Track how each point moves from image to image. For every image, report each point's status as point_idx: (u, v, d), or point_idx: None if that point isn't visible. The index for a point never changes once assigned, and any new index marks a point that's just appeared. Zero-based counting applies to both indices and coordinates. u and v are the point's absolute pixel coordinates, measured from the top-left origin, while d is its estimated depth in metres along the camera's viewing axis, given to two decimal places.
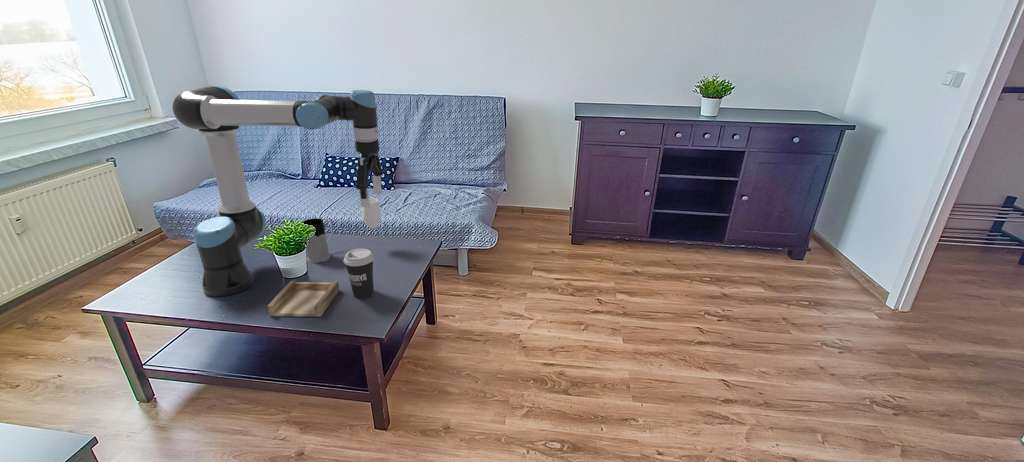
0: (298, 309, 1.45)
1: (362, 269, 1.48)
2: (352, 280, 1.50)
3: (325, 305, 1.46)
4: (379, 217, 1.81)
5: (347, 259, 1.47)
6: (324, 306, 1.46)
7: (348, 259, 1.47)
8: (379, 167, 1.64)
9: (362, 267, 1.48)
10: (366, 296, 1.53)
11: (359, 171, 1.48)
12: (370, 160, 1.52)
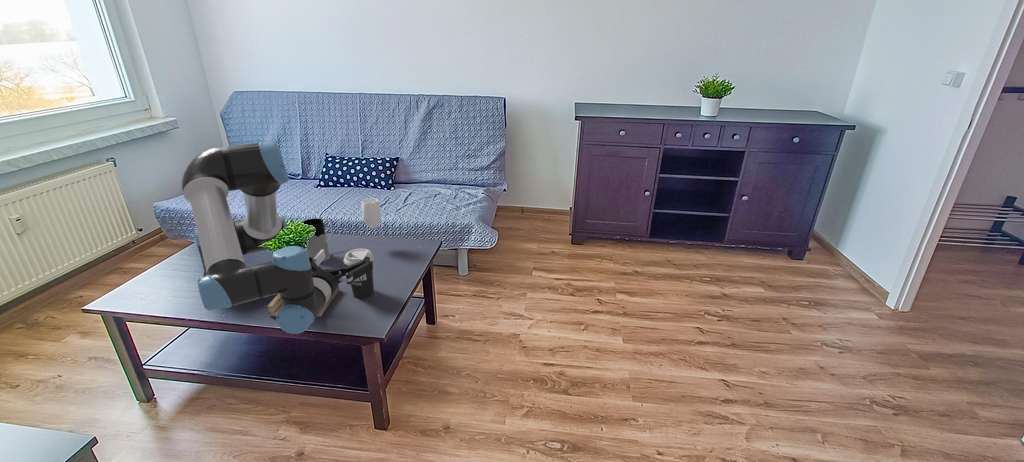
0: None
1: None
2: None
3: (325, 305, 1.46)
4: (379, 217, 1.81)
5: (347, 259, 1.47)
6: (324, 306, 1.46)
7: (348, 259, 1.47)
8: None
9: None
10: (366, 296, 1.53)
11: None
12: None
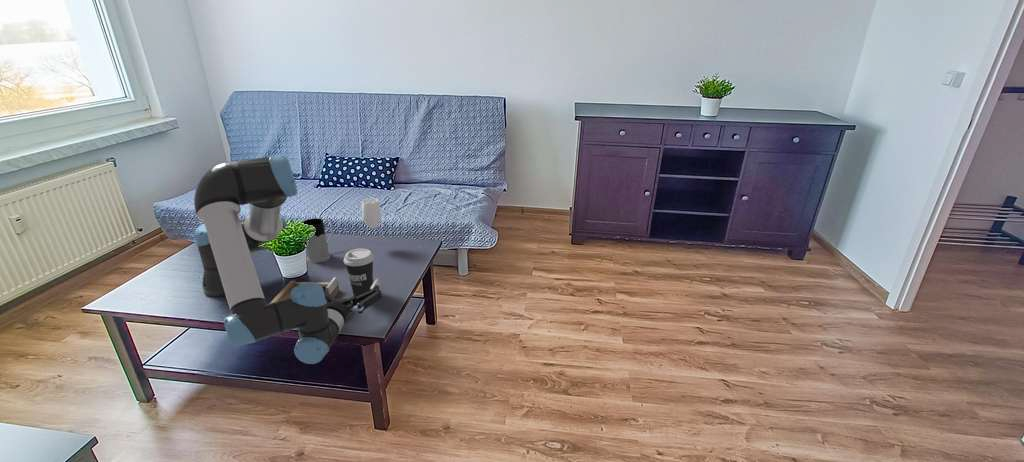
0: None
1: (362, 269, 1.48)
2: (352, 280, 1.50)
3: None
4: (379, 217, 1.81)
5: (347, 259, 1.47)
6: None
7: (348, 259, 1.47)
8: None
9: (362, 267, 1.48)
10: None
11: None
12: None
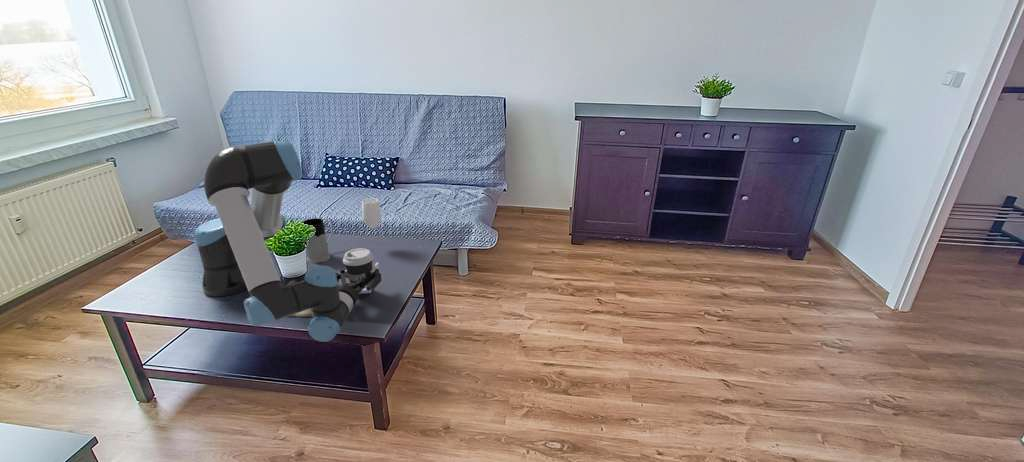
0: None
1: (362, 269, 1.48)
2: (352, 280, 1.50)
3: None
4: (379, 217, 1.81)
5: (346, 259, 1.47)
6: None
7: (347, 259, 1.47)
8: None
9: (361, 266, 1.48)
10: (365, 296, 1.53)
11: None
12: None
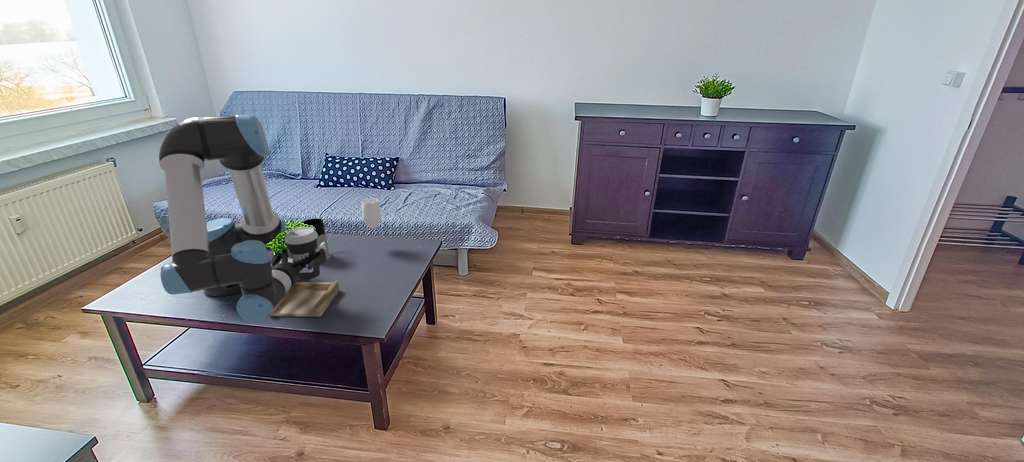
0: (298, 309, 1.45)
1: (304, 248, 1.40)
2: (294, 260, 1.41)
3: (325, 305, 1.46)
4: (379, 217, 1.81)
5: (287, 237, 1.38)
6: (324, 306, 1.46)
7: (288, 237, 1.38)
8: None
9: (304, 245, 1.39)
10: (310, 277, 1.44)
11: None
12: None
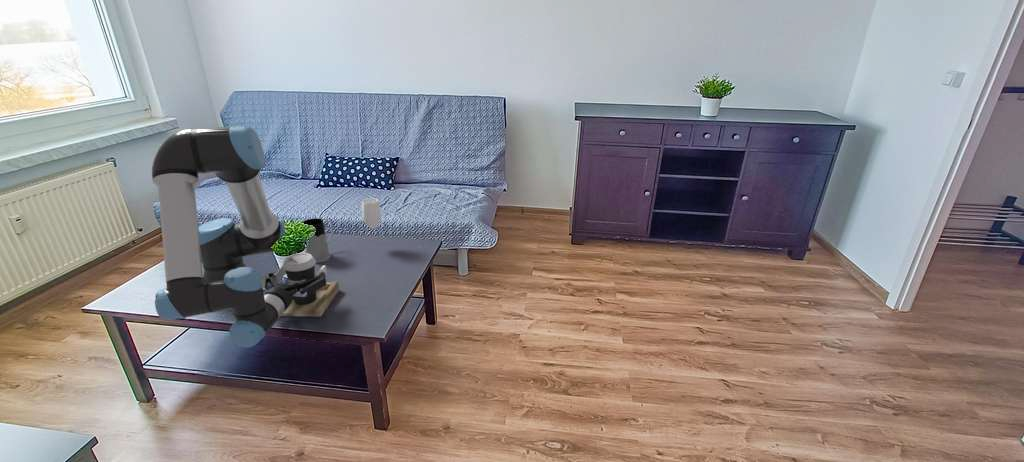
0: (298, 309, 1.45)
1: (302, 275, 1.42)
2: None
3: (325, 305, 1.46)
4: (379, 217, 1.81)
5: (286, 264, 1.41)
6: (324, 306, 1.46)
7: (287, 264, 1.41)
8: None
9: (301, 272, 1.42)
10: (306, 303, 1.47)
11: None
12: None
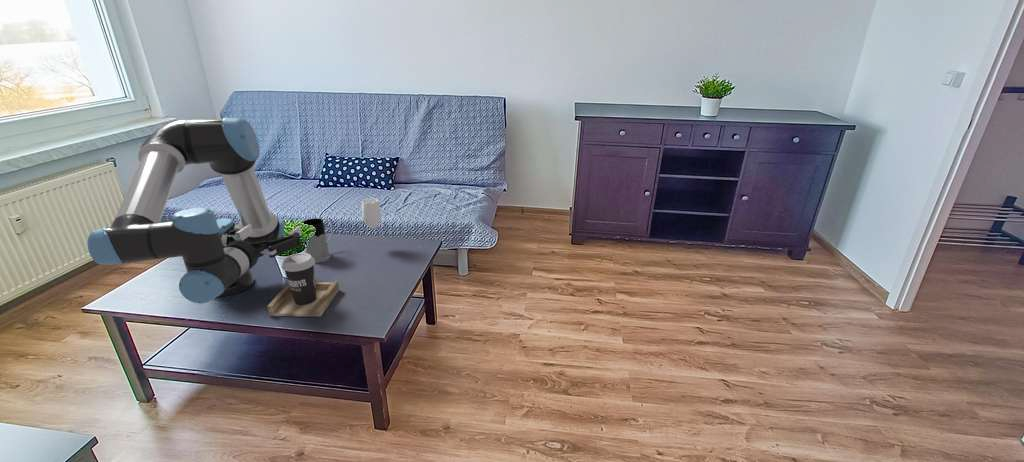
0: (298, 309, 1.45)
1: (301, 275, 1.42)
2: (291, 286, 1.44)
3: (325, 305, 1.46)
4: (379, 217, 1.81)
5: (285, 264, 1.41)
6: (324, 306, 1.46)
7: (286, 264, 1.41)
8: None
9: (300, 272, 1.42)
10: (306, 303, 1.47)
11: None
12: None
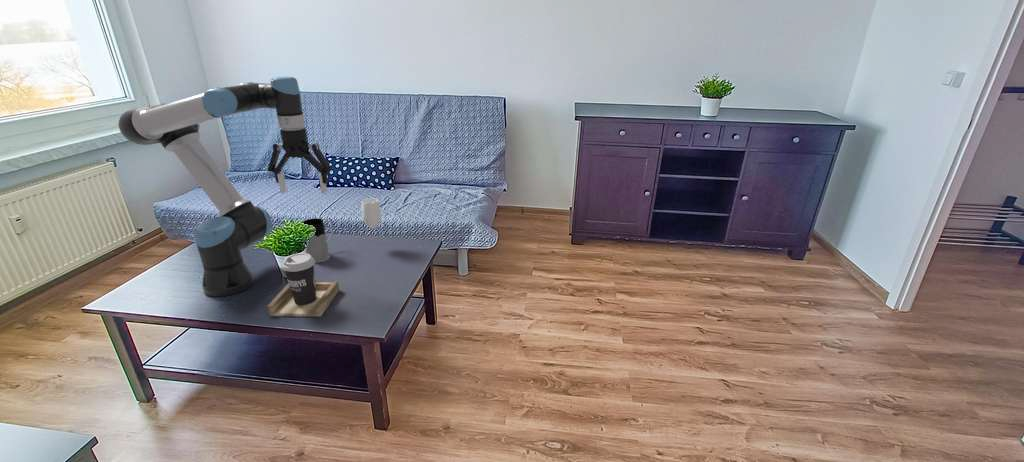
0: (298, 309, 1.45)
1: (301, 275, 1.42)
2: (291, 286, 1.44)
3: (325, 305, 1.46)
4: (379, 217, 1.81)
5: (285, 264, 1.41)
6: (324, 306, 1.46)
7: (286, 264, 1.41)
8: (322, 165, 1.50)
9: (300, 272, 1.42)
10: (306, 303, 1.47)
11: None
12: (287, 149, 1.47)
